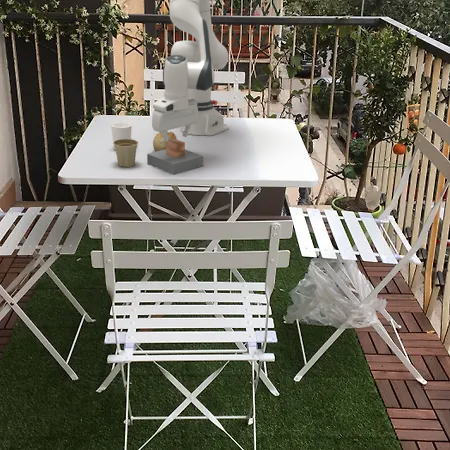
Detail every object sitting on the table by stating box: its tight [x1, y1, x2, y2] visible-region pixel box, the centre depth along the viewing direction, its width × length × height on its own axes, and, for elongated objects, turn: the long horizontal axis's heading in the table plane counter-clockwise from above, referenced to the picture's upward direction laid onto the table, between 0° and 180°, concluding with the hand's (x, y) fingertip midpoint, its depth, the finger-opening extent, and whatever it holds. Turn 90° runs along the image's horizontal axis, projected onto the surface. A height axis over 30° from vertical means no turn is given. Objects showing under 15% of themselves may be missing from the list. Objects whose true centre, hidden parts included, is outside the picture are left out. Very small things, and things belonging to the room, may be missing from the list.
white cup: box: [111, 121, 132, 151], centre depth 236 cm, size 8×8×10 cm
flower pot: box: [112, 138, 139, 168], centre depth 220 cm, size 9×9×9 cm
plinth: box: [146, 148, 204, 175], centre depth 223 cm, size 15×15×4 cm
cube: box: [166, 139, 186, 158], centre depth 221 cm, size 5×5×5 cm
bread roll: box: [152, 131, 178, 152], centre depth 237 cm, size 10×15×8 cm, turn 2°
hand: (176, 138), depth 220 cm, fingers open, 8 cm apart
